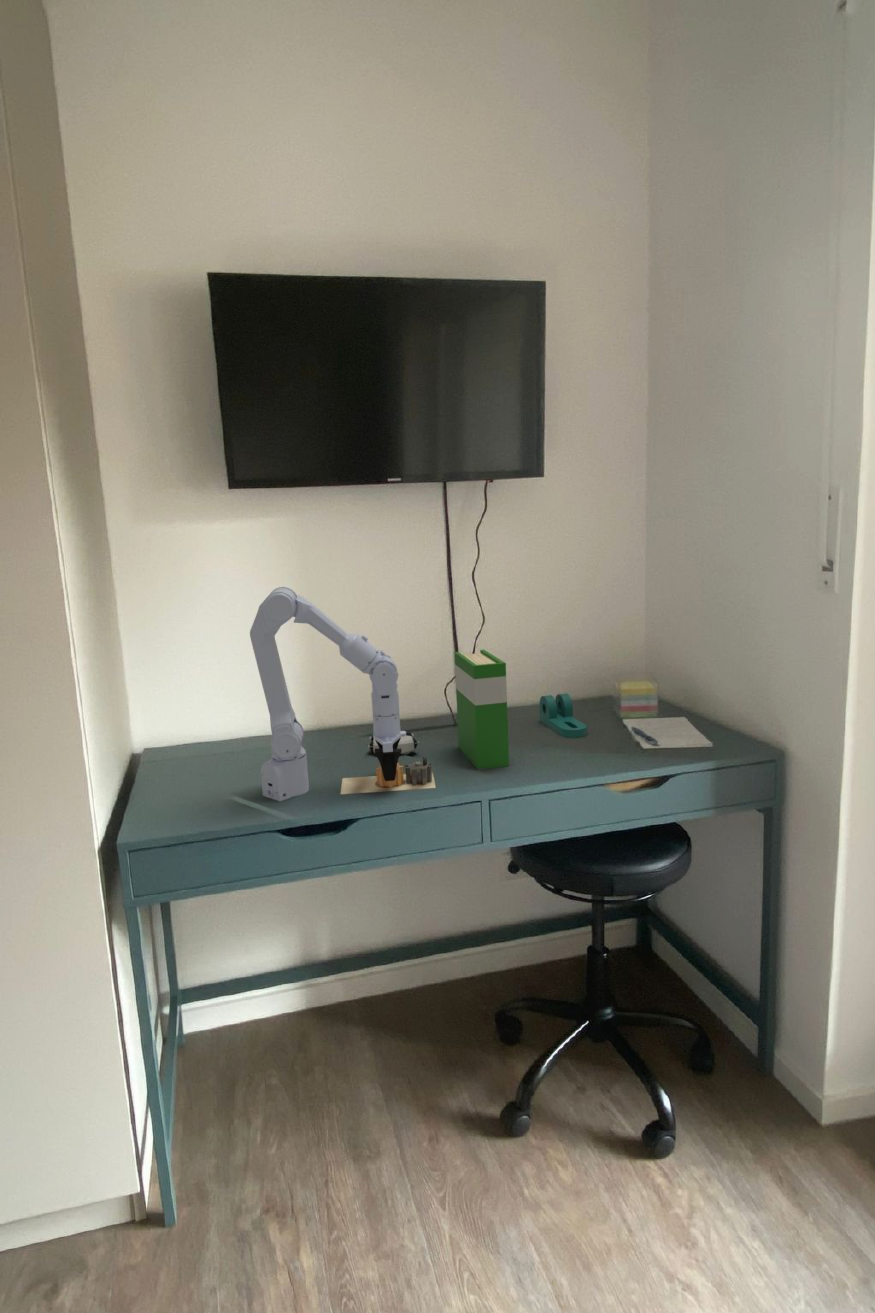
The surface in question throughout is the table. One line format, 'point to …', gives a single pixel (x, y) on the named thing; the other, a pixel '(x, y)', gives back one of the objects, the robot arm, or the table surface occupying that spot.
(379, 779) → the orange gear
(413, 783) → the gear board
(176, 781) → the table surface
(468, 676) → the hardback book
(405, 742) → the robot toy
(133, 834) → the table surface
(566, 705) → the bracket
